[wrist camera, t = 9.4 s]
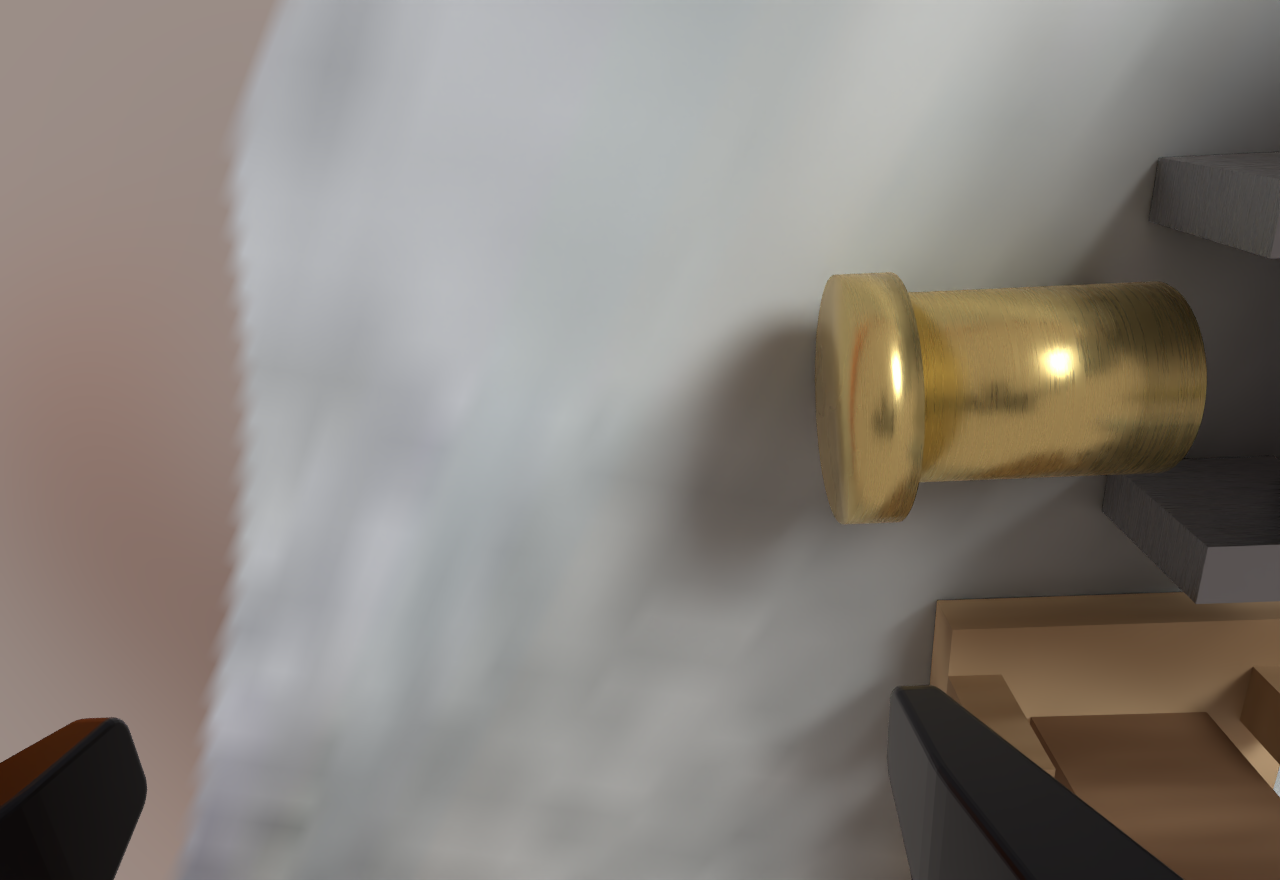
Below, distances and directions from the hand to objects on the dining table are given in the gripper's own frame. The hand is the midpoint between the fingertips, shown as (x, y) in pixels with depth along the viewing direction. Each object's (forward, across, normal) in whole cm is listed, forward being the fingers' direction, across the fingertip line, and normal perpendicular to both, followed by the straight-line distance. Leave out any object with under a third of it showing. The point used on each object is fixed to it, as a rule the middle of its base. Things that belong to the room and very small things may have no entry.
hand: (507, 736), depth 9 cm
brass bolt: (+11, -8, 0) cm, 14 cm away
